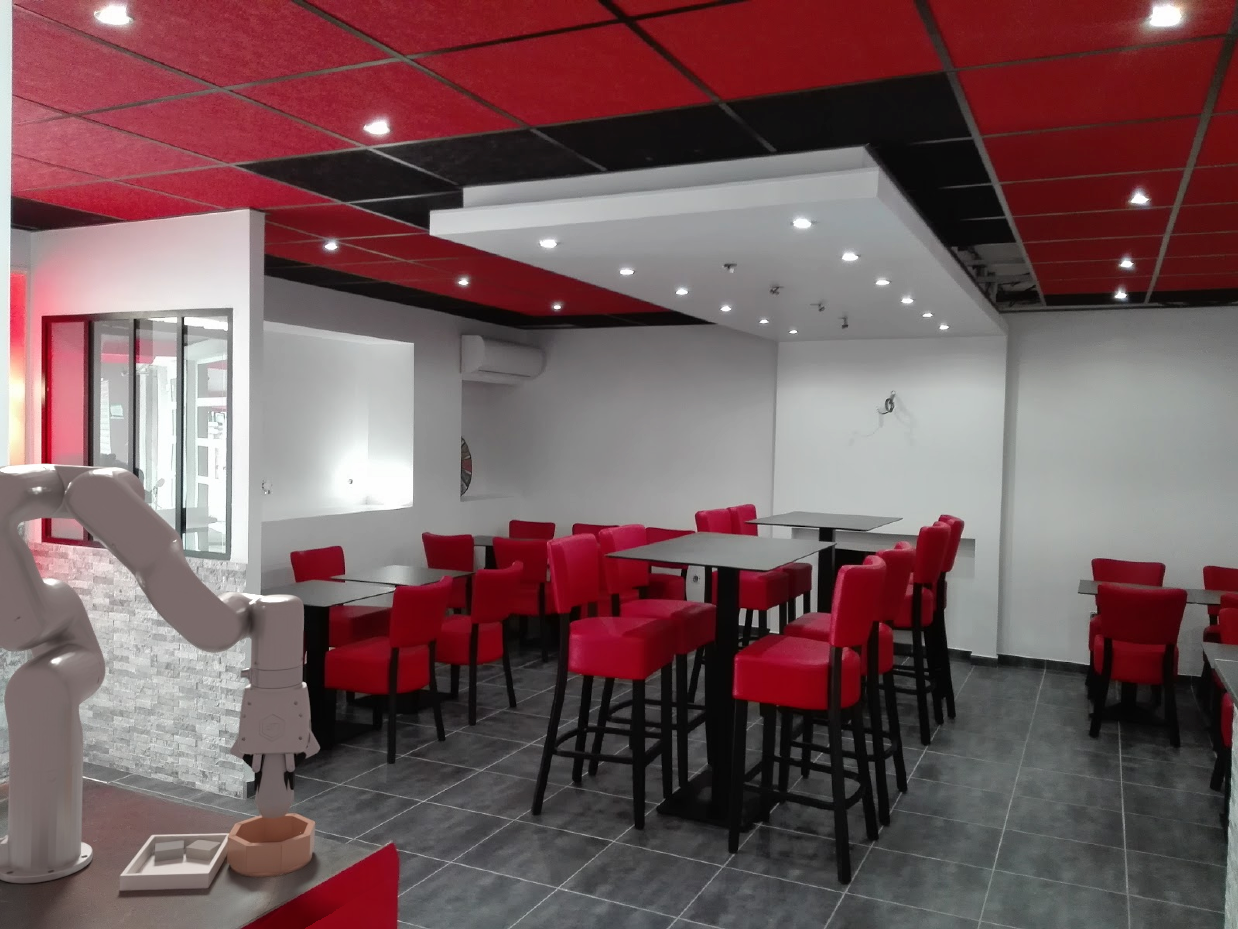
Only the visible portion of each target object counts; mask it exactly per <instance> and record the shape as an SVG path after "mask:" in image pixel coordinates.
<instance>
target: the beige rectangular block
mask: <svg viewBox="0 0 1238 929" xmlns="http://www.w3.org/2000/svg"><path fill="white" fill-rule="evenodd" d="M220 846H221V842H213V841H206V840H197V841H195V842H193V843H192V844H190V845H189V846H187V847H186V858H192V859H200V860H207V861H210V860H211V859H212V858H214V856H215V855H216V853H217V851H218V850H219V848H220Z"/></svg>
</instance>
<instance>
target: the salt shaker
mask: <svg viewBox="0 0 1238 929" xmlns="http://www.w3.org/2000/svg"><path fill="white" fill-rule="evenodd" d="M286 771H287V768H286V755H285V754H264V756H263V761H262V770H261V772H262V778H261V784H260V788H259V792H258V786H257V791H255V795H254V796H255V797H254V804H255V806H256V809H258V811H259V813H260V815H261V816H262V817H264V818H272V819H273V818H278V817H282V816H285V815H286V814H288V812H290V808H291V807H292V804H293V802H294V799H295V791H294V790H291V789H290V784H289V779H288V787H287V789H286V786H285V782H284V772H286Z"/></svg>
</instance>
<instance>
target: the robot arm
mask: <svg viewBox="0 0 1238 929" xmlns="http://www.w3.org/2000/svg"><path fill="white" fill-rule="evenodd" d="M145 500H146V490H145V487H144V484H143V483H142V481H141V480H140V479H139V477H138V476H137V475H135V473H133V472H131V471H130V470H128V469H125V468H122V467H116V466H115V467H113V466H112V467H111V466H107V467H106V466H86V465H83V466H82V465H70V464H69V465H68V464H65V465H64V464H56V463H55V464H52V463H29V464H14V465H12V464H11V465H2V466H0V648H1V649H3V650H5V651H8V652H25V651H28V650H30V651H31V653H32V655H33V658H31V659H29V660H27V661H26V662H25V663H23V664H22V665H21V666H20V667H18V668H17V669H16V670H15V671H14V673H13V674H12V675H11V676H10V678H9V680H8V682H7V684H6V687H5V691H4V710H5V716H6V722H7V730H8V742H9V743H8V747H9V748H8V749H9V750H8V751H9V752H8V753H9V754H8V755H9V756H8V767H9V768H8V769H9V770H8V809H7V810H8V813H7V814H8V818H7V823H8V824H7V834H6V835H4V836H3V837H0V880H1V881H3V882H7V883H11V884H34V883H42V882H48V881H53V880H54V881H55V880H57V879H62V878H64V877H67V876H70V875H72V874H75V873H77V872H79V871H81V870H82V869H84V868H85V867H87V865H89V864H90V863H91V862H92V859H93V857H94V856H93V855H94V850H93V848H92V846H91V845H90V844H88V843H86V842H83V841H82V826H83V825H82V824H83V823H82V821H83V789H84V788H83V783H84V782H83V780H84V775H83V774H84V734H83V726H82V722H81V717H80V705H81V704H83V702H84V703H85V701H87V700H88V699H89V698H90V697H92V696H93V695H94V694H96V693H97V692H98V690H99V689H100V687H101V686H102V684H103V682H104V679H105V676H106V670H107V669H106V661H105V659H104V658H105V657H104V654H103V651H102V648H101V646H100V643H99V640H98V639H97V635H96V632H95V631H94V628H93V625H92V623H91V620H90V618H89V616H88V612H87V610H86V607H85V605H84V603H83V601H82V599H81V597H80V596H79V594H78V593H77V591H76V590H74V588H73V587H72V586H71V585H69V583H66V582H65V581H63V580H60V579H57V578H51V577H42V576H41V573H40V571H39V569H38V566H37V564H36V560H35V557H34V556H33V552H32V550H31V548H30V546H29V545H28V544H27V543H26V541H25V540H24V539H23V538H22V536H21V534H20V533H19V530H18V526H19V525H20V524H21V523H23V522H30V521H34V520H38V519H39V520H40V519H67V520H69V519H70V520H74V521H76V522H77V523H78V524H79V525H80V526H81V527H82V528H83V529H85V530H86V531H87V532H88V534H90V535H91V537H93V538H94V539H95V540H96V541H97V542H99V543H100V544H101V545H102V547H104V548H105V549H106V550H107V551H108V552H110V553H111V555H113V557H115V558H116V559H117V561H118V562H120V563H121V564H122V565H123V566H124V567H125V568H126V569H127V570H128V571H129V572H130V573H131V574H132V575H133V576H134V578H135V581H136V582H137V585H138V587H139V588H140V589H141V590H142V592H143V594H144V596H146V598H147V600H148V601H149V603H150V604H151V606H152V607H153V609H155V611H156V613H158V615H159V616H160V617H161V618H162V619H163V620H164V621H165V622H166V623H167V624H168V625H169V626H171V628H172V629H174V630H175V631H176V632H177V633H178V634H179V635H180V636H181V637H182V638H183V639H185V640H186V641H187V642H188V643H189V644H191V645H192V647H193V646H194V647H195V648H197V649H198V650H201V651H203V652H206V653H212V654H215V653H216V654H218V653H222V652H225V651H227V650H229V649H231V648H232V647H233V646H235V645H236V644H238V642H240V641H242V640H244V639H248V638H250V639H251V643H250V644H251V645H250V648H251V649H250V666H249V668H245V669H243V668H242V669H241V670H240V678H241V679H246V680H248V681H249V683H248V684H247V685H246V686H244V690H243V693H242V699H241V705H240V714H239V724H238V736H237V738H236V740H235V741H234V743H233V745H232V747H231V749H230V750H229V753H230V755H232V756H234V757H235V758H239V759H240V760H243V762H244V763H246V765H248V767H250V768H251V771H252V772H253V773H254V775H253V777H254V779H253V780H254V781H253V782H254V783H253V791H255V792H256V791H257V786H258V792H259V788H260V784H261V778H262V772H261V770H262V761H263V756H264V754H285V755H286V768H287V771H286V772H284V782H285V786H286V789H287V787H288V779H289V784H290V789H291V790H294V789H295V786H296V768H297V767H299V766H300V765H301V763H303V761H305V759H308V758H310V757H312V756H315V754H318V753H319V751H320V749H321V746H320V744H319V742H318V740H317V739H316V737H315V735H314V733H313V731H312V722H311V719H312V718H311V705H310V697H309V696H310V695H309V690H308V686H307V683H306V682H304V681H303V672H304V671H303V667H304V666H303V665H304V664H303V662H304V660H303V659H304V621H305V620H304V618H305V616H304V614H305V609H304V602H303V601H302V599H301V598H300V597H299V596H296V595H294V594H293V595H292V594H268V595H259V594H252V593H245V592H237V591H226V592H223V593H220V594H218V595H217V594H215V592H213V591H212V590H211V589H210V588H209V587H208V586H207V585H205V584H204V582H203V581H202V580H201V579H200V578H199V577H198V575H197V574H196V573H195V572H194V570H193V569H192V567H191V566H190V565H189V563H188V561H187V558H186V554H185V551H184V550H185V549H184V544H183V540H182V537H181V535H180V534H179V532H178V531H177V530H176V529H175V528H174V527H172V526H171V525H170V524H169V523H168V522H167V521H166V520H165V519H164V518H163V517H162V516H161V515H159V513H157V511H156V510H154V509H153V508H152V507H151V506H150V505H149V504H148V503H147V502H146V501H145Z"/></svg>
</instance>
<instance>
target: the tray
mask: <svg viewBox="0 0 1238 929" xmlns="http://www.w3.org/2000/svg"><path fill="white" fill-rule="evenodd" d="M229 833H230V832H229ZM229 833H223V832H221V833H220V832H219V833H189V834H188V833H187V834H186V833H185V834H179V833H178V834H176V833H175V834H151V835H150V836H149V838H148V839H147V840H146V842H145V843H144V844H143V846H142V847H141V848H140V850H139V851H138V852H137V854H135V855H134V857H133V858H132V860H131V861H130V862H129V863H128V864H127V866H126V867H125V869H124V870H123V871H122V872H121V873H120V875H119V891H120V892H121V891H124V892H125V891H147V890H148V891H151V890H152V891H153V890H159V891H160V890H182V889H183V890H184V889H185V890H186V889H188V890H190V889H209V887H210V886H211V884H212V883H213V880H214V878H216V875H217V873H218V872H219V869H220V868H221V866H222V864H224V862H225V859H227V841H228V835H229ZM181 840H184V855H183V858H181V859H173V860H165V861H157V862H155V844H156V843H164V842H172V841H181ZM197 840H206V841H213V842H221V846H220V848H219V850H218V851H217V853H216V855H215V856H214V858H212V859H211V860H210V861H207V860H200V859H192V858H186V847H187V846H189V845H190V844H192V843H193V842H195V841H197Z"/></svg>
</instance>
